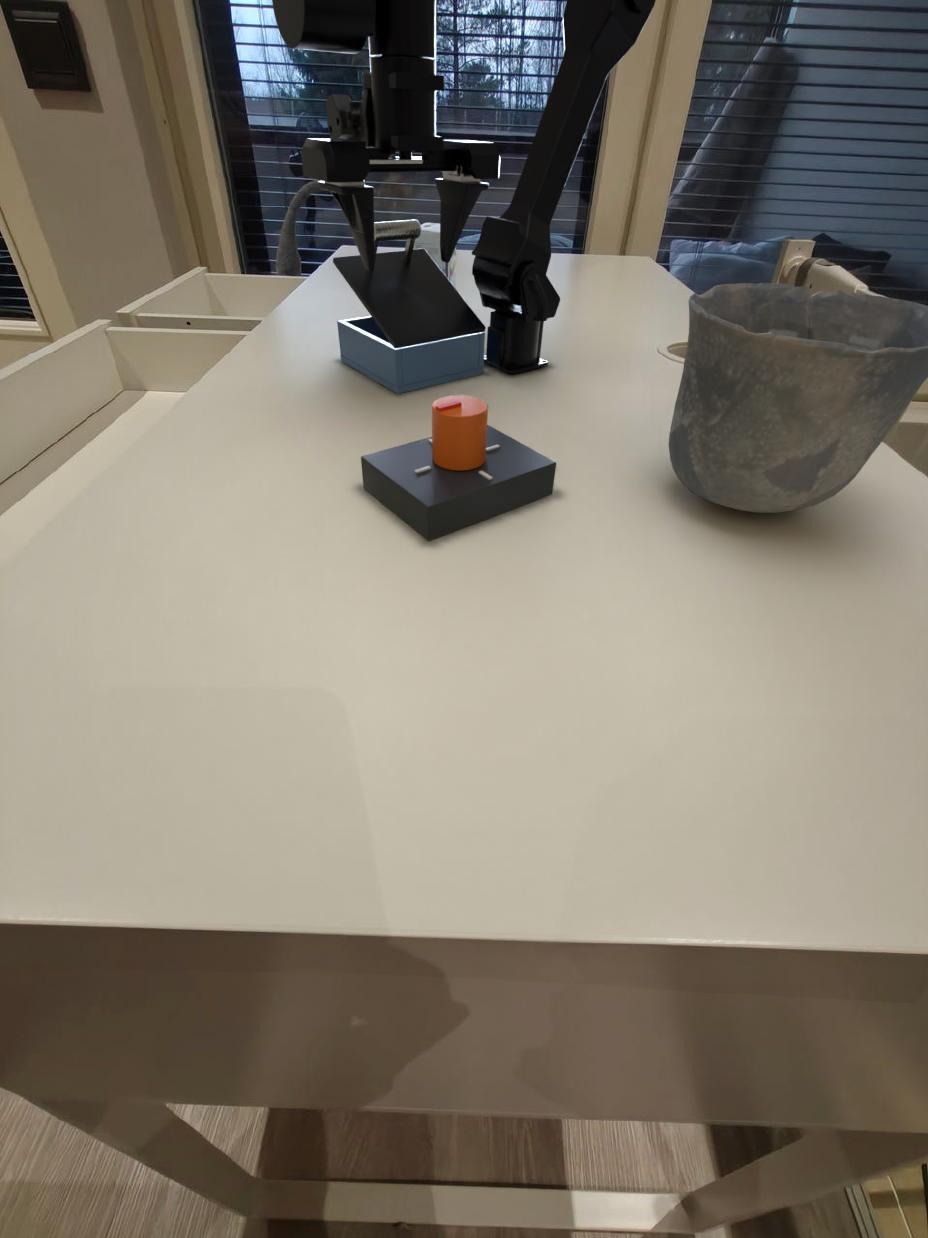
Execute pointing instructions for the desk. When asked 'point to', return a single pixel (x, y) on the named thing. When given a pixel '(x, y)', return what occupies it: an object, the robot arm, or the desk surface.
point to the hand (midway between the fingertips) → (408, 265)
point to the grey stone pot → (790, 391)
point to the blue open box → (408, 356)
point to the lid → (408, 290)
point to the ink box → (436, 249)
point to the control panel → (456, 483)
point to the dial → (459, 432)
